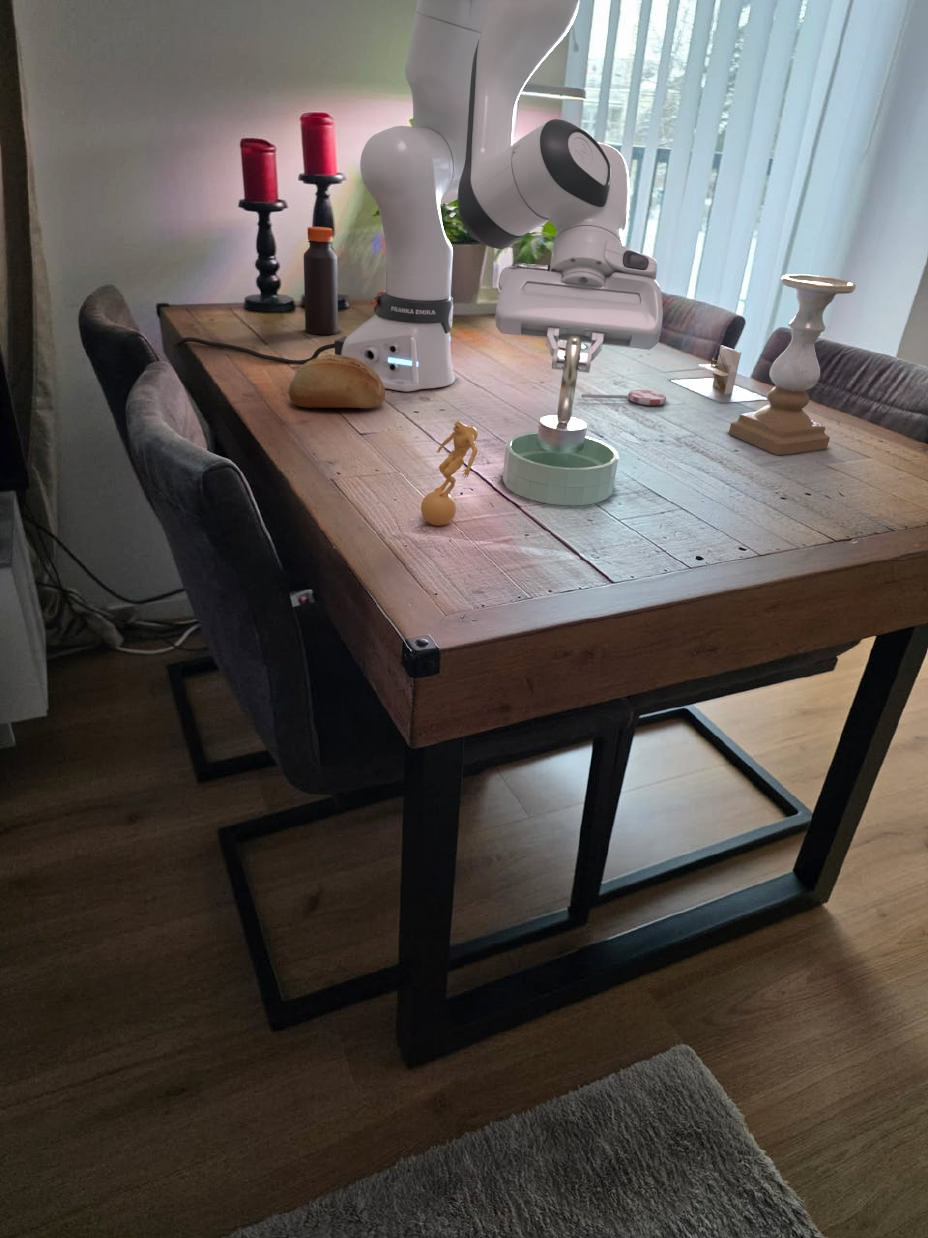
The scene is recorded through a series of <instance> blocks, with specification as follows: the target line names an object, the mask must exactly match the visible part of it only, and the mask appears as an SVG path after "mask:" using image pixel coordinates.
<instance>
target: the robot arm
mask: <svg viewBox="0 0 928 1238" xmlns="http://www.w3.org/2000/svg"><path fill="white" fill-rule="evenodd" d="M580 1H581V0H417V2H416V7H415V13H414V18H413V24H412V28H411V35H410V40H409V46H408V51H407V56H406V62H405V68H404V70H405V71H404V73H405V78H406V81H407V84H408V85H409V88H410V93H411V98H412V124H411V125H410V126H409V125H395V126H392V127H389V128H386V129H384V130H381V131H379V132H376V133H375V134H373V135H372V136H370V138H369V139H368V140H367V142H366V143H365V145H364V147H363V149H362V151H361V154H360V161H359V162H360V164H359V167H360V168H359V169H360V176H361V179H362V182H363V184H364V186H365V188H366V190H367V191H368V192H369V194H370V195H371V196H372V198H373V199H374V201H375V204H376V206H377V209H378V212H379V213H378V214H379V216H380V217H379V218H380V220H381V225H382V229H383V235H384V242H385V243H384V244H385V289H381V290H380V291H379V292H378V293H377V294H376V296H375V297H374V298H373V301H372V302H373V304H372V307H373V311H374V313H375V314H374V315H372V316H371V317H370V318H368V319H367V320H365V321H364V322H363V323H362V324H360V325H358V327H356V328H355V329H353V331H352V332H350V333H349V334H348V335H347V336H341V337H340V338H337V339H335V340H334V342H333V343H329V344H325V345H323V346H321V347H320V346H319V348H317V349H316V350H315V351H314V353H313V354H312V356H310V357H309V358H306V359H289V358H283V357H279V356H275V355H268V354H263V353H260V352H258V351H256V350H253V349H250V348H247V347H242V346H238V345H234V344H230V343H229V344H228V343H222V342H215V341H209V340H206V339H202V338H198V337H193V336H188V337H187V336H186V337H183V338H180V339H179V340H177V341H176V342H175V343H174V345H173V346H175V347H180V346H182V344H184V343H191V342H192V343H198V344H202V345H205V346H209V347H216V348H220V349H221V348H222V349H229V350H233V351H237V352H242V353H245V354H248V355H251V356H254V357H257V358H258V359H259V358H260V359H262V360H266V361H271V362H272V361H273V362H277V363H281V364H282V363H283V364H288V365H289V364H290V365H291V364H292V365H303V364H305V363H307V362H308V361H310V360H312V359H314V358H317V357H319V355H320V354H321V353H323V352H324V351H327V350H331V349H334V355H340V356H347V357H351V358H356V359H358V360H360V361H362V362H364V363H365V364H366V365H368V366H369V367H370V368H371V369H372V370H373V371H374V372H375V373H376V374H377V375H378V376H379V378H380V379H381V381H382V383H383V386H384V389H388V390H394V391H400V392H415V391H419V390H424V389H436V388H442V387H447V386H450V385H452V384H454V383H455V381H456V377H455V373H454V367H453V361H452V349H451V340H452V339H451V338H452V337H451V332H452V327H453V318H454V299H453V297H452V295H451V294H452V279H453V278H452V276H453V259H454V258H453V257H454V249H453V245H452V243H451V242H450V240H449V238H448V237H447V235H446V232H445V230H444V225H443V218H442V211H441V205H444V204H450V203H453V202H455V201H457V209H458V214H459V219H460V221H461V224H462V225H463V228H464V229H465V230H466V232H467V233H468V234H469V236H471V237H472V238H473V239H474V240H476V241H477V242H478V243H480V244H482V245H484V246H486V247H489V248H492V249H496V250H505V249H507V248H509V247H510V246H511V245H513V244H514V243H516V242H517V241H519V240H520V239H522V238H523V237H525V236H526V235H527V234H529V232H531V231H533V230H536V229H537V228H539V227H541V226H543V225H544V224H546V223H548V222H550V223H551V225H553V226H554V227H555V230H556V233H555V236H554V239H553V243H552V250H551V257H550V263H549V265H546V264H527V263H524V262H514V263H513V265H508V266H506V267H504V268H502V270H501V272H500V274H499V278H498V289H499V291H500V292H499V294H498V298H497V302H496V306H495V310H494V323H495V327H496V329H497V330H498V331H499V333H500V334H502V335H511V336H521V337H530V338H537V339H546V341H545V343H546V344H545V345H546V348H547V349H548V351H549V354H550V356H551V359H552V360H551V369H554V370H562V371H563V369H564V361H565V351H566V349H560V347H558V342H559V341H561V340H565V341H567V340H568V338H569V337H571V336H574V335H575V336H578V337H579V338H580V339H581V341H582V344H583V343H585V344H590V346H589V349H588V351H586V352H585V351H583V352H582V351H581V352H580V357H579V363H578V373H587V374H589V373H590V371H591V364H592V362H593V361H594V360H595V359H596V358H597V357H598V356H599V354H600V353H601V352H602V349H603V345H604V346H612V347H621V348H631V349H638V350H645V351H647V350H648V351H650V350H651V349H653V348H654V347H655V346H656V345H658V343H659V340H660V337H661V334H662V327H663V313H664V312H663V311H664V310H663V294H662V293H663V292H662V290H661V287H660V285H659V283H658V282H657V278H658V277H657V276H658V261H657V260H656V259H655V258H654V257H652V256H649V255H646V254H644V253H641V252H639V251H636V250H634V249H632V248H630V247H628V246H625V245H624V242H623V235H624V233H625V231H626V229H627V225H628V219H629V210H630V195H631V193H630V191H631V190H630V177H629V170H628V169H629V168H628V166H627V162H626V160H625V158H624V156H623V155H622V154H621V152H619V150H618V149H616V148H615V147H614V146H611V145H609V144H606V143H604V142H597V141H596V139H595V138H593V137H592V135H590V134H589V133H588V132H587V131H585V130H584V129H582V127H579V126H577V125H576V124H575V123H572V122H569V121H567V120H564V119H559V118H554V119H553V118H552V119H549V120H548V121H547V122H545V123H542V124H541V125H540V126H538V127H536V128H535V129H533V130H532V131H530V132H529V133H527V134H525V135H523V136H522V137H521V138H519V139H518V140H517V141H516V142H515V143H513V139H514V127H515V126H514V124H515V111H516V106H517V102H518V100H519V97H520V95H521V93H522V91H523V89H524V87H525V86H526V84H527V82H528V81H529V80H530V78H531V76H532V75H533V74H534V73H535V71H536V70H537V69H538V68H539V66H540V65H541V64H542V62H543V61H544V60H545V59H546V58H547V57H548V56H549V54H550V53H551V52H552V51H553V50H554V49H555V48H556V47H557V46H558V44H559V43H560V42H561V41H562V40H563V39H564V37H566V35H567V33H568V32H569V30H570V28H571V27H572V25H573V24H574V21H575V19H576V16H577V14H578V11H579V5H580Z"/></svg>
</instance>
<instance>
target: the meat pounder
mask: <svg viewBox="0 0 928 1238" xmlns="http://www.w3.org/2000/svg"><path fill="white" fill-rule="evenodd" d="M582 344H583V342H582V341H581V339H580V338H579V337H578V336H575V335H574V336H571V337H569V338H568V340H567V343H566V348H565V361H564V369H563V370H562V374H561V382H560V389H559V397H558V403H557V412H556V415H554V414H552V415H546V416H545V415H544V416H542V417H540V419H539V420H538V427H537V432H538V436H537V445H538V446H539V447H540V448H542V449H544V450H547V451H550V452H555V453H563V454H571V453H578V452H580V451H582V450H583V449H584V443H585V437H587V429H588V424H587V423H586V422H585V421H584V420H582V419H579V418H577V417H573V415H572V414H573V408H574V400H575V395H576V387H577V380H578V373H579V372H578V363H579V357H580V352H582V349H581V345H582Z"/></svg>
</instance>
